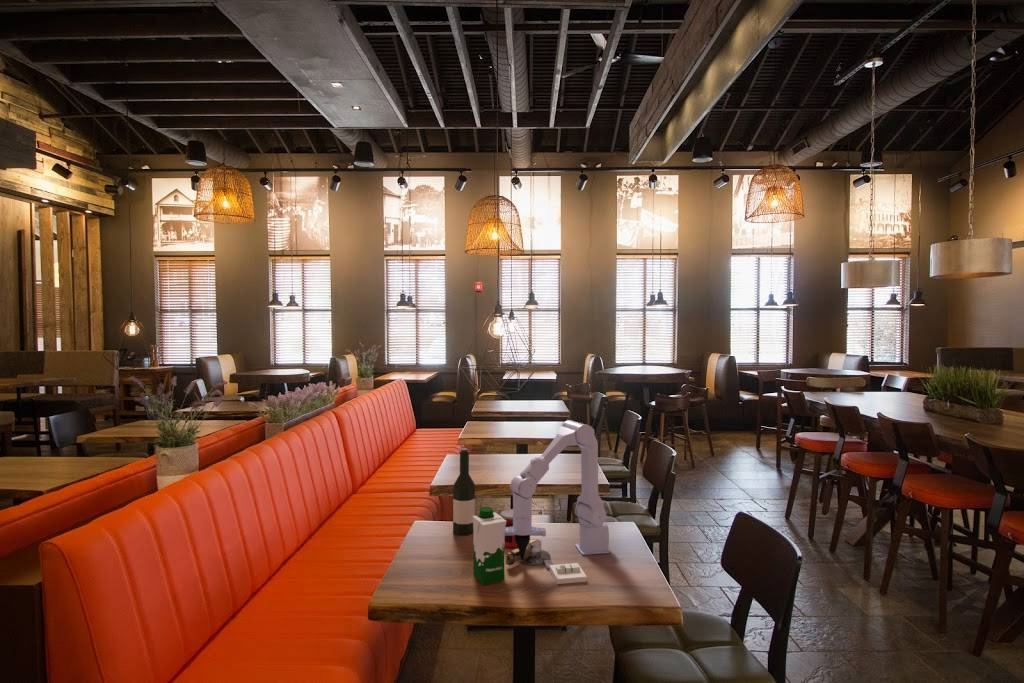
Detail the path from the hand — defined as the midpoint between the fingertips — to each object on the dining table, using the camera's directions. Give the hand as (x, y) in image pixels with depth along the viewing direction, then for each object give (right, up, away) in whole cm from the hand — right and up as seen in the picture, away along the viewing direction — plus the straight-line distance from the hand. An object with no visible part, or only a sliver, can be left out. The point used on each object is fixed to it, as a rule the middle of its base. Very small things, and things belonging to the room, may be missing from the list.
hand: (522, 558), depth 170 cm
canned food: (-3, -2, +17) cm, 17 cm away
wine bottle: (-20, -2, +28) cm, 34 cm away
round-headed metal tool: (+1, -2, +4) cm, 4 cm away
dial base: (+4, -3, +5) cm, 7 cm away
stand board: (+14, -3, -5) cm, 15 cm away
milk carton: (-10, -3, -7) cm, 13 cm away
